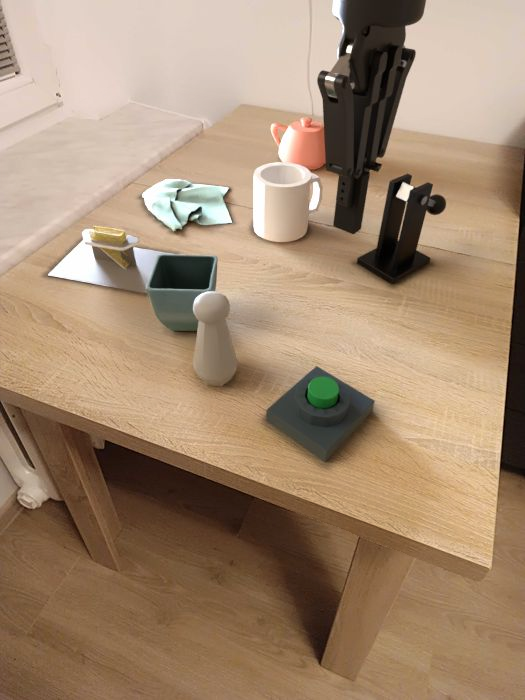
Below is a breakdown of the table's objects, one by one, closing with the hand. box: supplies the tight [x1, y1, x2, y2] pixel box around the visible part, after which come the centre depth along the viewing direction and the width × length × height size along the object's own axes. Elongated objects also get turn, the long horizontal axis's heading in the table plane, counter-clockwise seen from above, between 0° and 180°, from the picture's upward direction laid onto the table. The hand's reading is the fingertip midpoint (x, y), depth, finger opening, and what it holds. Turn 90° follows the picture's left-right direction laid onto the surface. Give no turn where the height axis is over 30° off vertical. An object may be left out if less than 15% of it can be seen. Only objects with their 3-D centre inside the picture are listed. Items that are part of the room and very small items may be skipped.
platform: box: [47, 225, 176, 294], centre depth 84 cm, size 12×18×7 cm, turn 74°
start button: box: [307, 377, 339, 409], centre depth 59 cm, size 4×4×2 cm
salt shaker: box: [192, 290, 239, 387], centre depth 63 cm, size 6×6×13 cm
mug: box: [253, 161, 324, 243], centre depth 92 cm, size 14×10×11 cm
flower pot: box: [146, 253, 219, 332], centre depth 72 cm, size 9×9×9 cm
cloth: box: [141, 178, 233, 232], centre depth 100 cm, size 20×22×2 cm
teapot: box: [270, 116, 326, 171], centre depth 114 cm, size 12×18×10 cm
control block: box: [265, 365, 376, 463], centre depth 61 cm, size 10×9×4 cm
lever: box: [396, 182, 447, 216], centre depth 82 cm, size 13×3×3 cm, turn 129°
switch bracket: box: [356, 173, 434, 285], centre depth 82 cm, size 10×8×15 cm
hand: (346, 227), depth 56 cm, fingers closed
